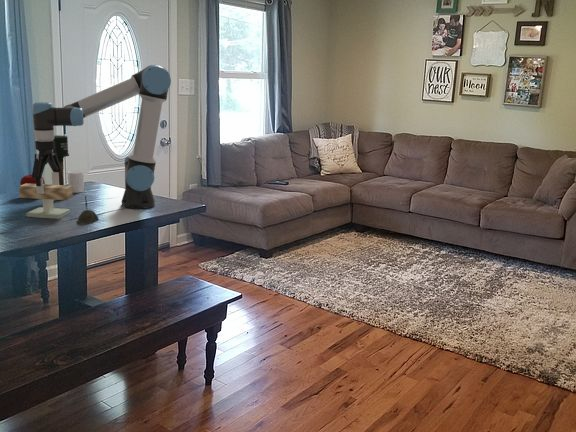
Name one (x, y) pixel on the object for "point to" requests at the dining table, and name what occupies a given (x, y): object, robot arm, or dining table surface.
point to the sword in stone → (87, 216)
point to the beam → (46, 192)
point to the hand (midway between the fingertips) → (48, 190)
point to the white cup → (76, 181)
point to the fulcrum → (48, 211)
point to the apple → (29, 180)
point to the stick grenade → (61, 153)
